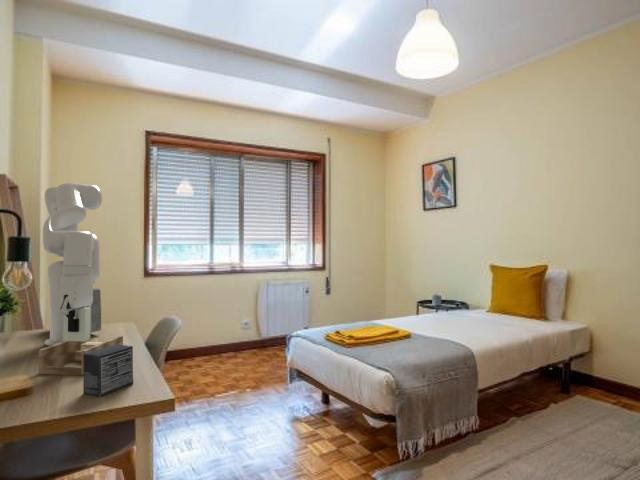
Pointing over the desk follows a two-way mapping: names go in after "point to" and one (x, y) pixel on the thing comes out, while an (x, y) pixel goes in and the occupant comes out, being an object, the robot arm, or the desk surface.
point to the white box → (84, 326)
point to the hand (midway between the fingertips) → (76, 329)
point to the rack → (67, 356)
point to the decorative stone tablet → (96, 311)
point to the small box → (107, 370)
